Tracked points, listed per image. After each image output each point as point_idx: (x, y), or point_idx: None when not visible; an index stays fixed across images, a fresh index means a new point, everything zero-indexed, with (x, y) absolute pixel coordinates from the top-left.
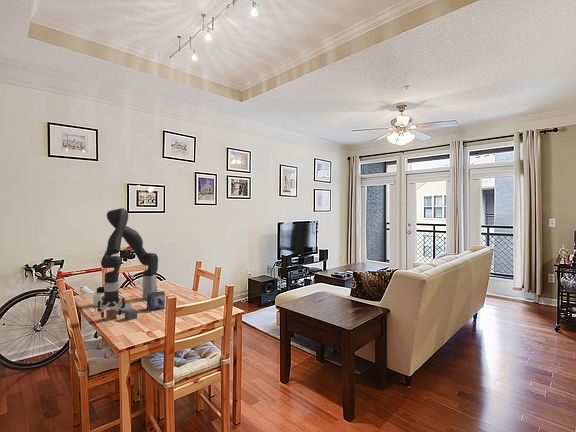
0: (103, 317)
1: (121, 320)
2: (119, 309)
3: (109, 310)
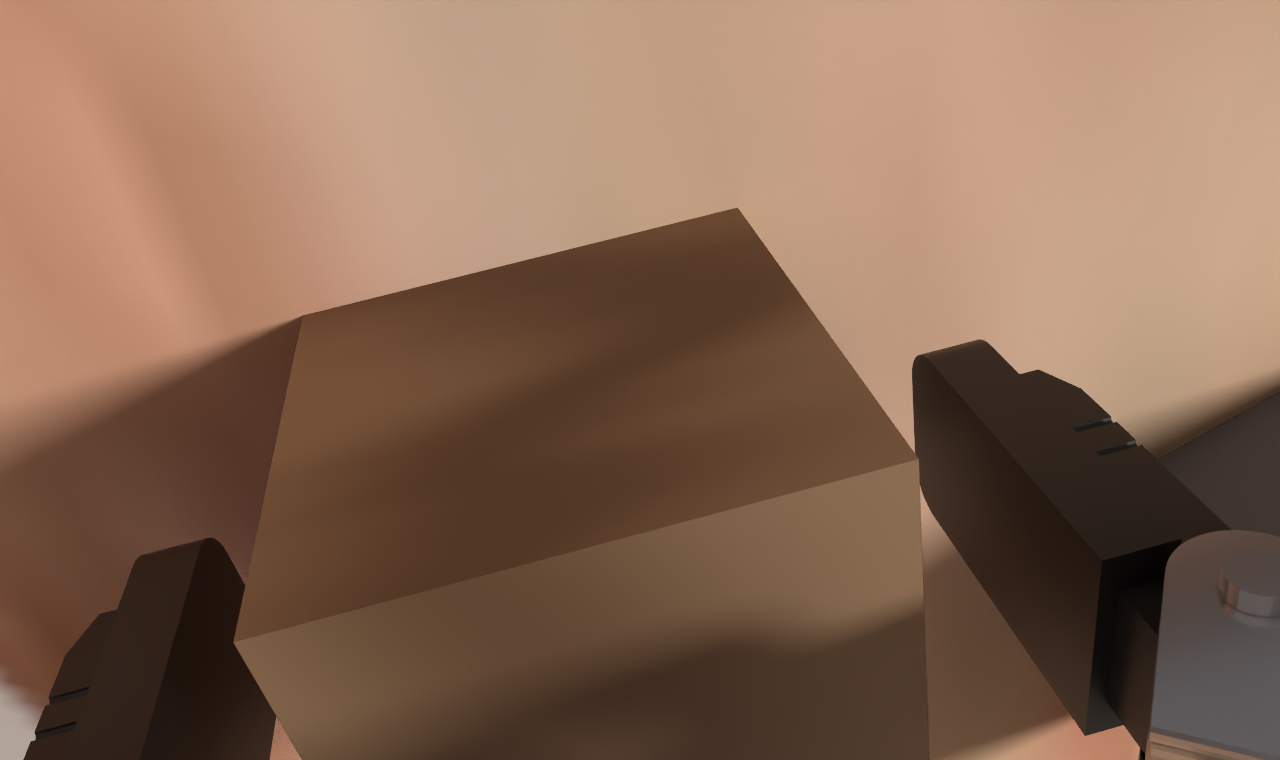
0: (262, 692)
1: (948, 657)
2: (1123, 697)
3: (514, 742)
